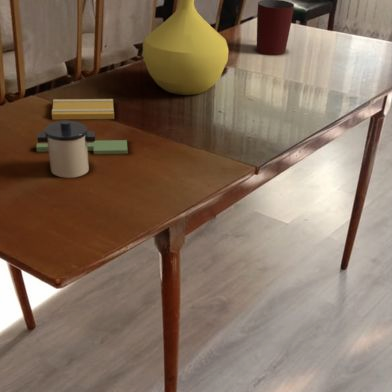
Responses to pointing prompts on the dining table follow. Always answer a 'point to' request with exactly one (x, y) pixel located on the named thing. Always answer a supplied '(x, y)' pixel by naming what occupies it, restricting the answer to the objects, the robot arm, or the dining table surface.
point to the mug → (273, 26)
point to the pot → (67, 147)
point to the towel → (83, 109)
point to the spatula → (97, 147)
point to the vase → (185, 52)
